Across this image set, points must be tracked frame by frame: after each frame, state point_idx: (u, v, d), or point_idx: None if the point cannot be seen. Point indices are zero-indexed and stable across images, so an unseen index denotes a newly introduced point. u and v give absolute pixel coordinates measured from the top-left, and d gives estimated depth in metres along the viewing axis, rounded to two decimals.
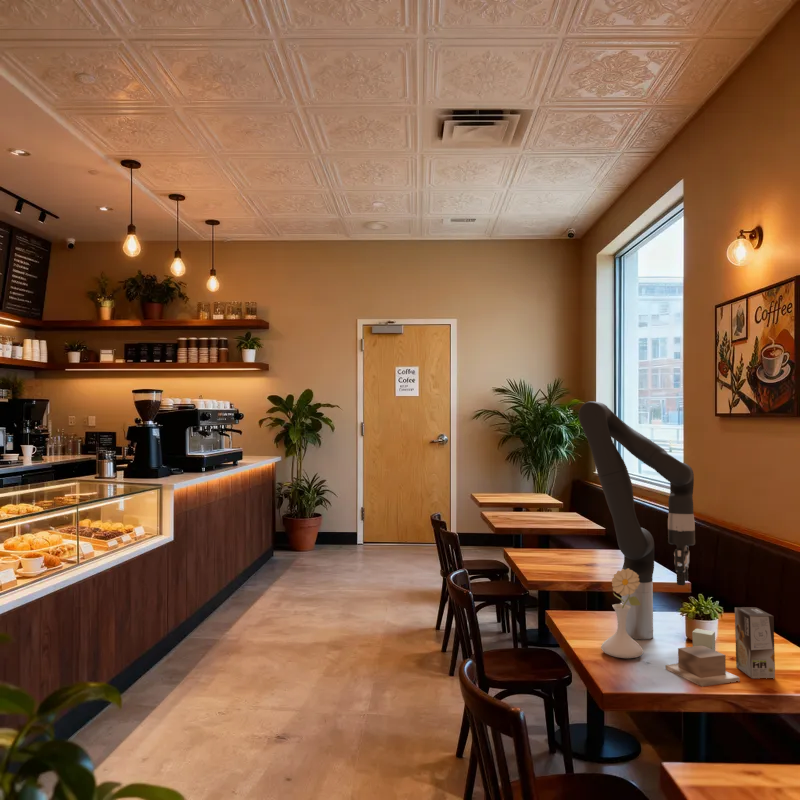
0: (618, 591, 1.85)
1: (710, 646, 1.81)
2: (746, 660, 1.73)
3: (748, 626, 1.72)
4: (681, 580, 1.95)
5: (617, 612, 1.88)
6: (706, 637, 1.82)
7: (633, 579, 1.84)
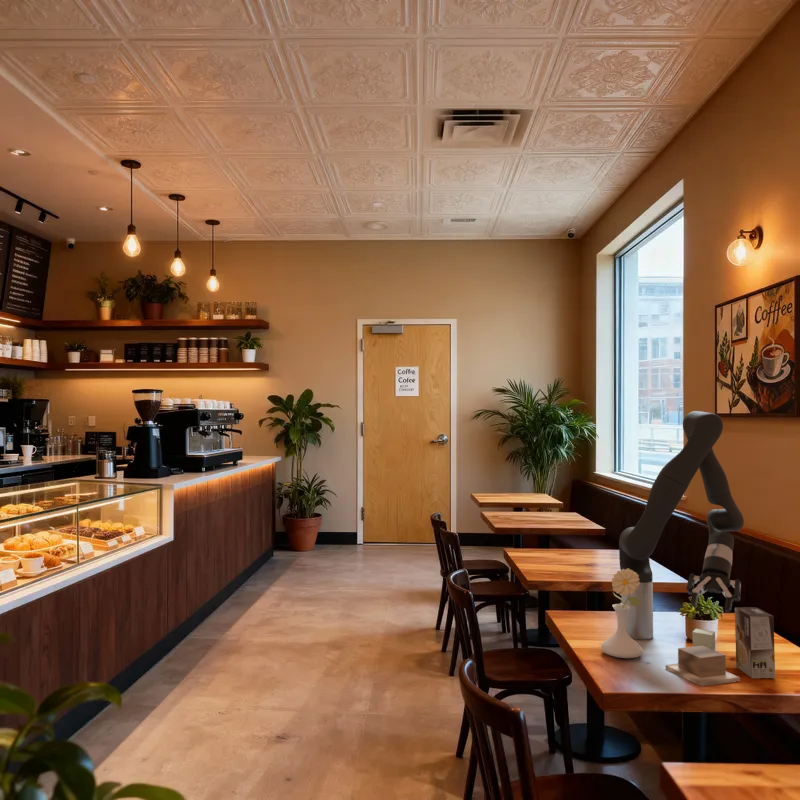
0: (618, 591, 1.85)
1: (710, 646, 1.81)
2: (746, 660, 1.73)
3: (748, 626, 1.72)
4: None
5: (617, 612, 1.88)
6: (706, 637, 1.82)
7: (633, 579, 1.84)
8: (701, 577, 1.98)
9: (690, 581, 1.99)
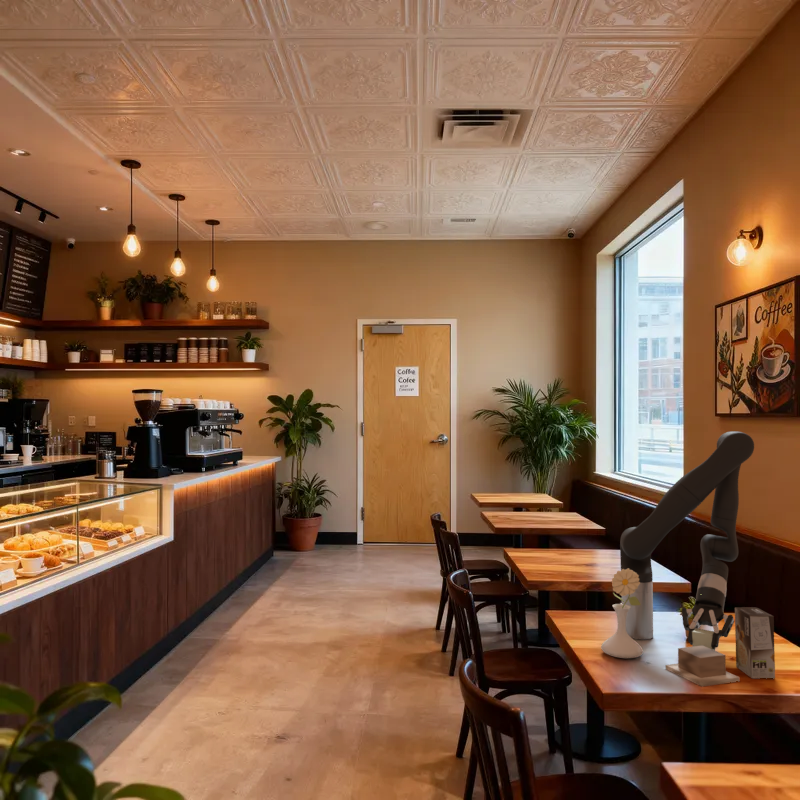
0: (618, 591, 1.85)
1: (710, 646, 1.81)
2: (746, 660, 1.73)
3: (748, 626, 1.72)
4: None
5: (617, 612, 1.88)
6: (706, 636, 1.82)
7: (633, 579, 1.84)
8: (694, 609, 1.90)
9: (684, 616, 1.90)
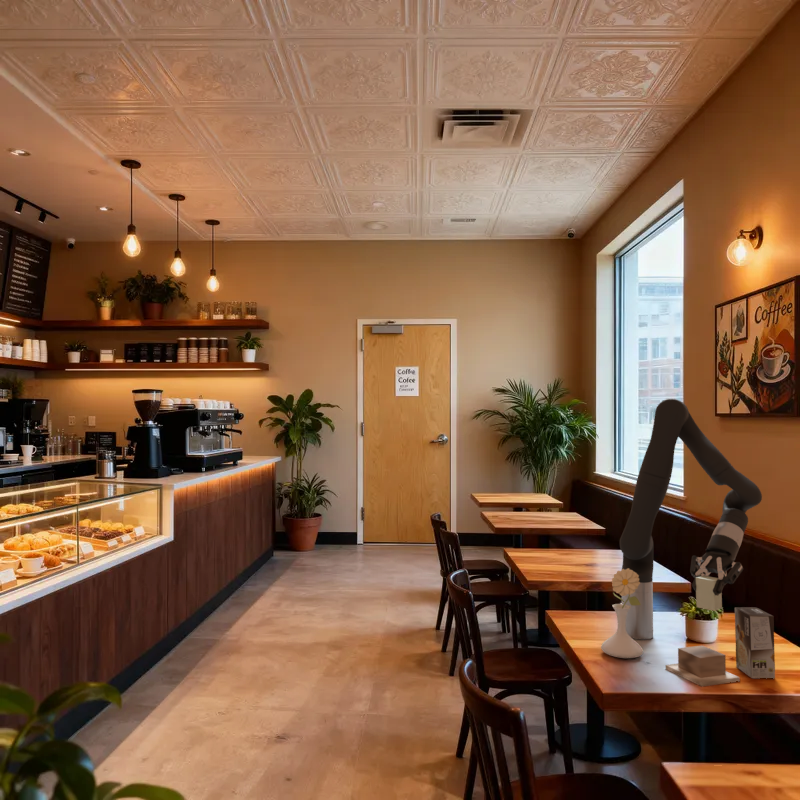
0: (618, 591, 1.85)
1: (712, 592, 1.78)
2: (746, 660, 1.73)
3: (748, 626, 1.72)
4: (720, 590, 1.77)
5: (617, 612, 1.88)
6: (708, 582, 1.78)
7: (633, 579, 1.84)
8: (703, 557, 1.86)
9: (693, 563, 1.87)
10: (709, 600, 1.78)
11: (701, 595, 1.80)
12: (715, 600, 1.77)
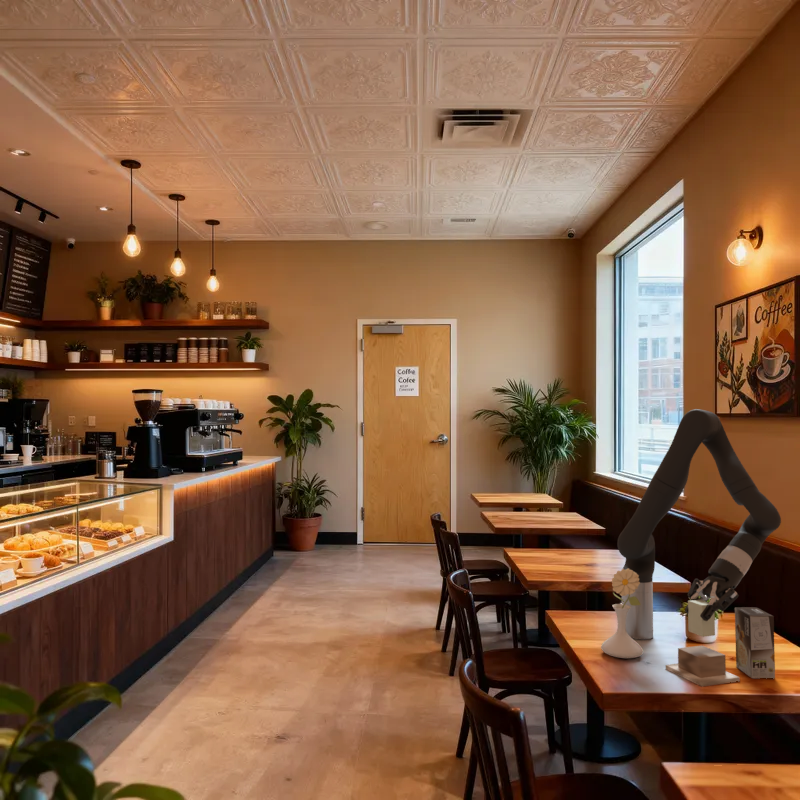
0: (618, 591, 1.85)
1: None
2: (746, 660, 1.73)
3: (748, 626, 1.72)
4: (709, 615, 1.70)
5: (617, 612, 1.88)
6: (698, 607, 1.72)
7: (633, 579, 1.84)
8: (704, 581, 1.79)
9: (693, 586, 1.80)
10: (698, 625, 1.72)
11: (692, 619, 1.74)
12: (703, 625, 1.71)
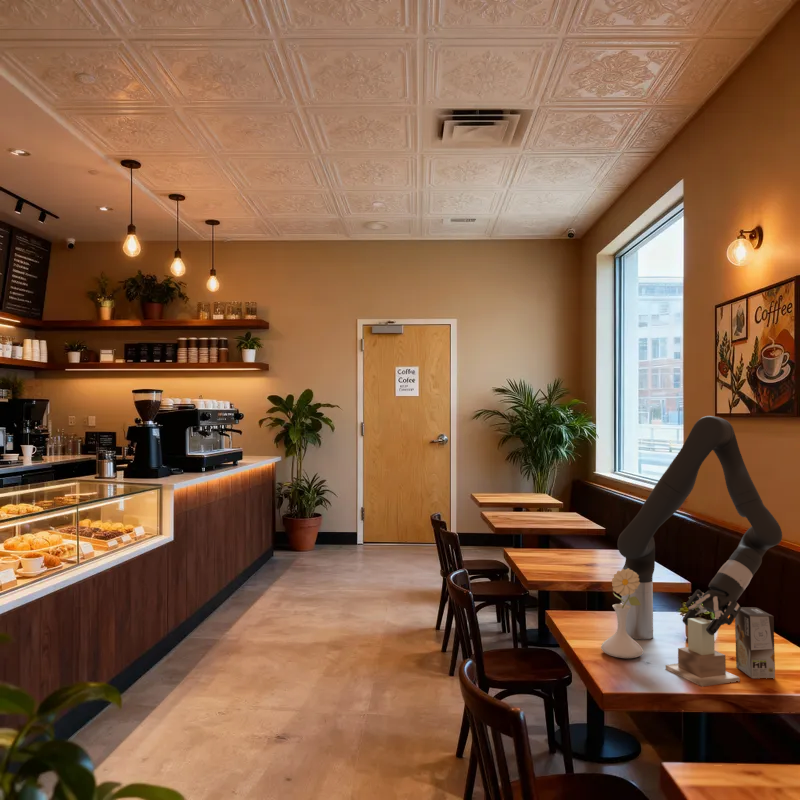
0: (618, 591, 1.85)
1: (700, 635, 1.71)
2: (746, 660, 1.73)
3: (748, 626, 1.72)
4: (715, 630, 1.69)
5: (617, 612, 1.88)
6: (697, 625, 1.72)
7: (633, 579, 1.84)
8: (704, 594, 1.79)
9: (692, 597, 1.81)
10: (697, 644, 1.72)
11: (692, 637, 1.74)
12: (703, 644, 1.71)
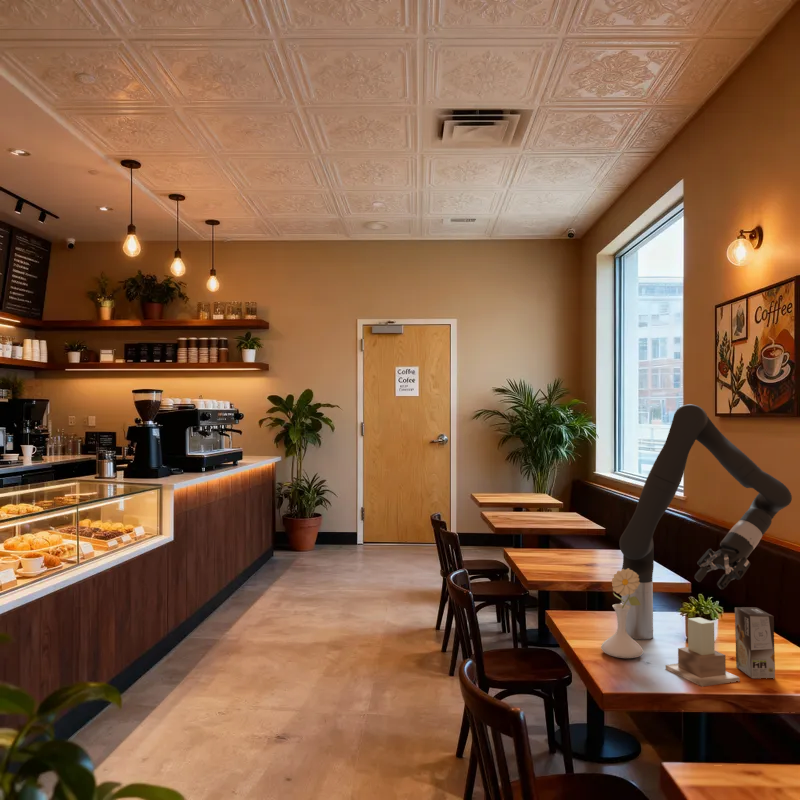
0: (618, 591, 1.85)
1: (700, 635, 1.71)
2: (746, 660, 1.73)
3: (748, 626, 1.72)
4: (725, 584, 1.78)
5: (617, 612, 1.88)
6: (697, 625, 1.72)
7: (633, 579, 1.84)
8: (715, 553, 1.88)
9: (704, 556, 1.90)
10: (697, 644, 1.72)
11: (692, 637, 1.74)
12: (703, 644, 1.71)
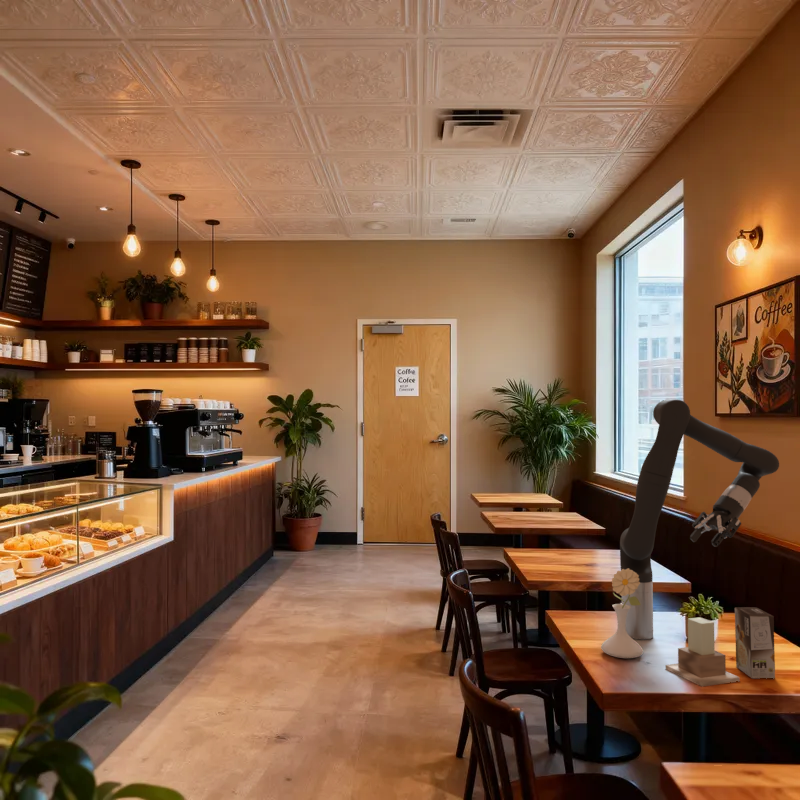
0: (618, 591, 1.85)
1: (700, 635, 1.71)
2: (746, 660, 1.73)
3: (748, 626, 1.72)
4: (718, 542, 1.93)
5: (617, 612, 1.88)
6: (697, 625, 1.72)
7: (633, 579, 1.84)
8: (709, 515, 2.03)
9: (698, 518, 2.05)
10: (697, 644, 1.72)
11: (692, 637, 1.74)
12: (703, 644, 1.71)
